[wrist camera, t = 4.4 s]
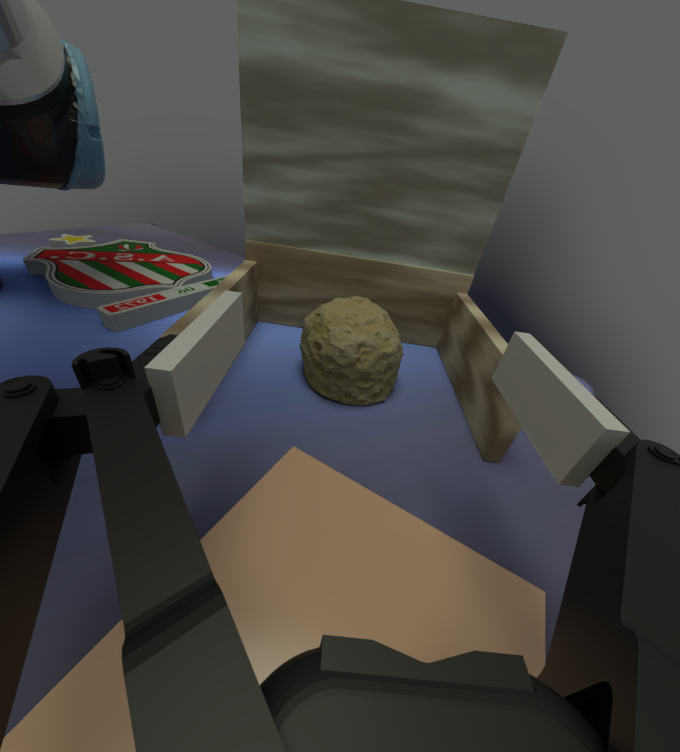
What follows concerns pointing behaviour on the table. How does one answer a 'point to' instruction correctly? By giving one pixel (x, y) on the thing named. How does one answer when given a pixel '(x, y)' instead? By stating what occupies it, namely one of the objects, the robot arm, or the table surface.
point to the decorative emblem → (122, 278)
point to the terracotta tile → (313, 597)
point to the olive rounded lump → (351, 351)
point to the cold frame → (384, 171)
